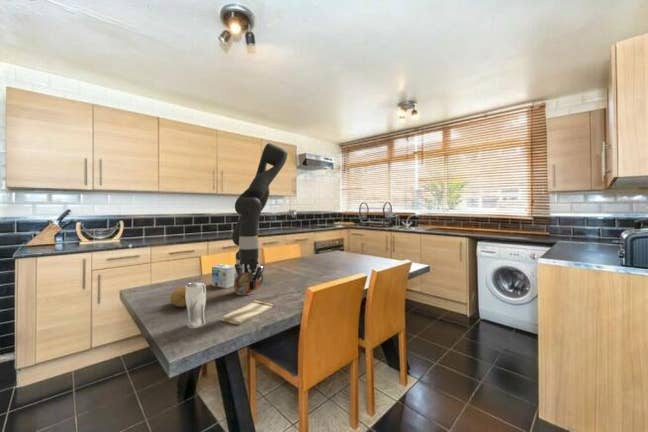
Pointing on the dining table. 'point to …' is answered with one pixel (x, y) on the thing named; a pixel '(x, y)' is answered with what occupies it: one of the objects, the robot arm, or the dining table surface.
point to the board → (246, 312)
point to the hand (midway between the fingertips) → (249, 289)
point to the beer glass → (195, 304)
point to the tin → (245, 283)
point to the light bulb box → (223, 275)
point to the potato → (179, 296)
